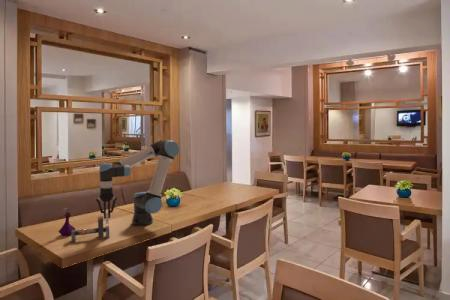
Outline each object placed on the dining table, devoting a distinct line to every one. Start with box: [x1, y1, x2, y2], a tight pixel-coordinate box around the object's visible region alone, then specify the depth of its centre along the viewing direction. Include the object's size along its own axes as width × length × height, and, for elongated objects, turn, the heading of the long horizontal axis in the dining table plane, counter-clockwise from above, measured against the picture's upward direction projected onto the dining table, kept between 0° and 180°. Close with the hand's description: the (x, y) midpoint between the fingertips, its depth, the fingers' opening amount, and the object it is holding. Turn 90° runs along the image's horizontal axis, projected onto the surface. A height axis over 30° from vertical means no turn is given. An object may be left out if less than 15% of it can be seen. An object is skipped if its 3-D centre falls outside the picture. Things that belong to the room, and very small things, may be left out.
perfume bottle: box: [58, 208, 76, 237], centre depth 208 cm, size 8×8×18 cm
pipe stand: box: [71, 225, 110, 243], centre depth 200 cm, size 22×5×7 cm, turn 112°
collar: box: [97, 216, 105, 239], centre depth 202 cm, size 3×9×12 cm, turn 22°
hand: (107, 223), depth 203 cm, fingers closed
